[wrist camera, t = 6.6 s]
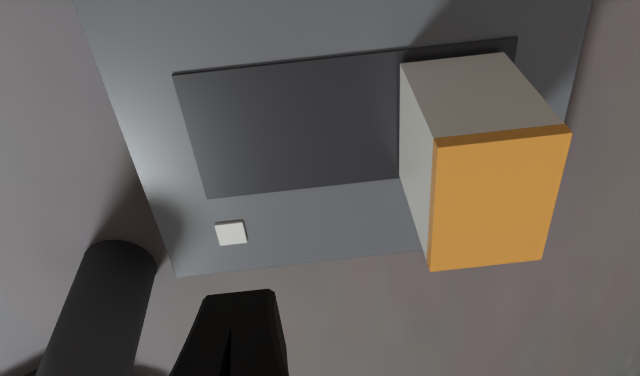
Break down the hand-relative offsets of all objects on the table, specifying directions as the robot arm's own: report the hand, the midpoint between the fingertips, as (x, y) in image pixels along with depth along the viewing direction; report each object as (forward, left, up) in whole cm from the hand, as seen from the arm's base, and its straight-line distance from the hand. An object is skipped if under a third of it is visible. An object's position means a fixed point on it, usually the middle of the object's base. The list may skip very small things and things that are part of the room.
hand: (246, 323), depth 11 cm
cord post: (+7, +7, -9) cm, 14 cm away
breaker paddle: (-6, 0, -7) cm, 9 cm away
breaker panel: (-3, 0, -9) cm, 10 cm away
